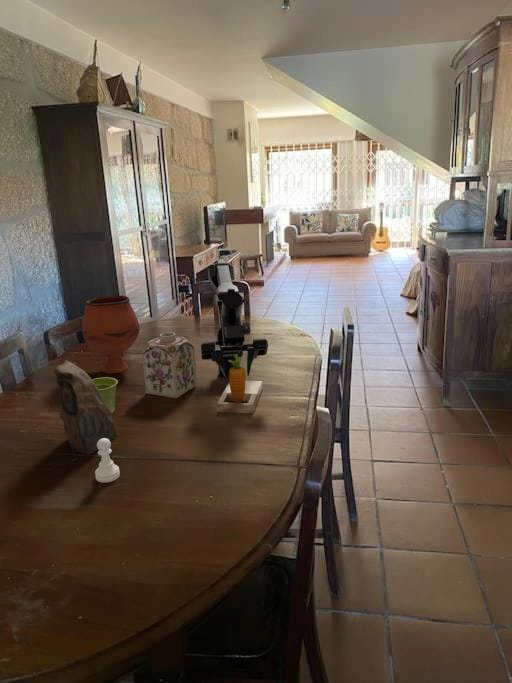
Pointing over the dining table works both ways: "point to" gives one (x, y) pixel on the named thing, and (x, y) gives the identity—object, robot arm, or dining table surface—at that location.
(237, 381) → the carrot
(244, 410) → the open matchbox
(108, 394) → the plant pot
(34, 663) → the dining table surface
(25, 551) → the dining table surface
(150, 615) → the dining table surface
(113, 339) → the goblet
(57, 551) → the dining table surface
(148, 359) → the decorative jar
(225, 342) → the robot arm
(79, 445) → the owl
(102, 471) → the chess pawn
